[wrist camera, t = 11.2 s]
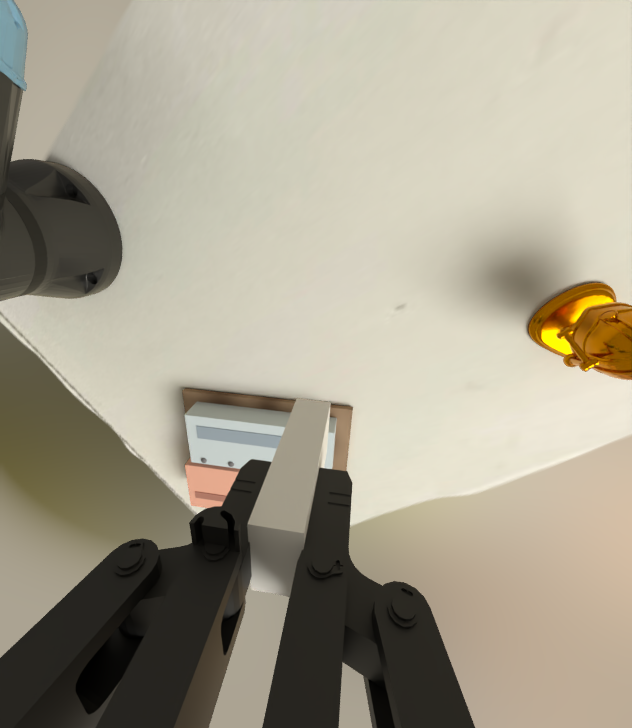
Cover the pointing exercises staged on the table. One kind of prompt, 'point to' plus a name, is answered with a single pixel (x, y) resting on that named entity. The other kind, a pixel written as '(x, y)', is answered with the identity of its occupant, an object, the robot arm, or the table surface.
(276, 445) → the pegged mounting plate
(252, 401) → the backing board
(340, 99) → the table surface
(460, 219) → the table surface
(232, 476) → the stub
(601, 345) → the figurine
